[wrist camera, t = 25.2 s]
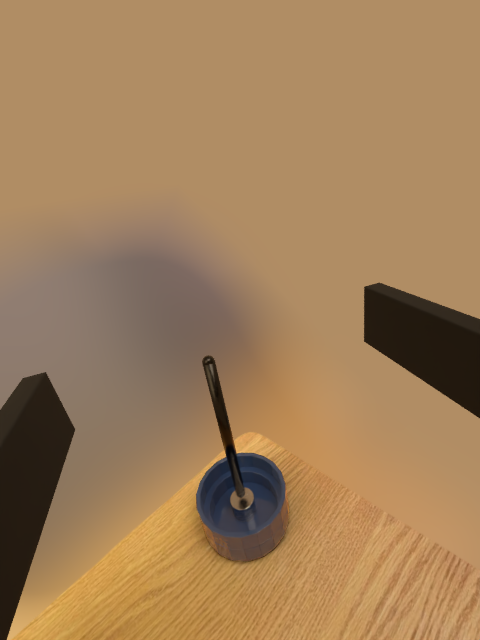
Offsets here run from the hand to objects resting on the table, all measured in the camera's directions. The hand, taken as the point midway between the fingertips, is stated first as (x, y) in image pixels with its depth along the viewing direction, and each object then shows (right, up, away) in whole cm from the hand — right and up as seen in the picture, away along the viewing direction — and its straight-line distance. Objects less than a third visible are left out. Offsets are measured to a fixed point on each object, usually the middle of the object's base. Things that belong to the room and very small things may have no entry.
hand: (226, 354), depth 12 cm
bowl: (+1, -23, +26) cm, 35 cm away
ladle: (+1, -23, +26) cm, 35 cm away
